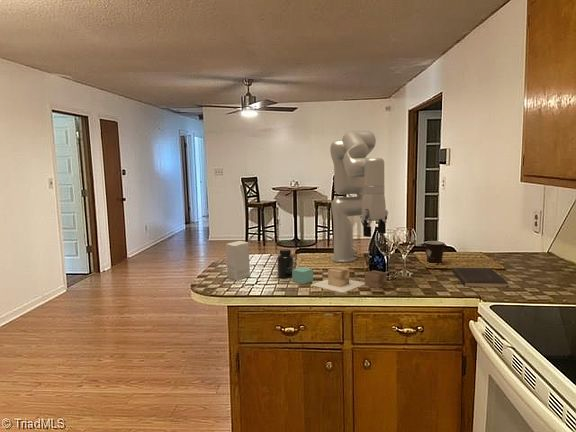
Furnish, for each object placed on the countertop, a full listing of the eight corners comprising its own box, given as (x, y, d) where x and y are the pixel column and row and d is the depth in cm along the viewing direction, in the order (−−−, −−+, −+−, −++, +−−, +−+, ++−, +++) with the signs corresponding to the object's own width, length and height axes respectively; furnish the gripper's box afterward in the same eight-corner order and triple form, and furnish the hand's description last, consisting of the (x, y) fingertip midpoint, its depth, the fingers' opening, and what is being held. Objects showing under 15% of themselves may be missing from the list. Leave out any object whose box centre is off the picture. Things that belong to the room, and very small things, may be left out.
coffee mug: (446, 265, 204) (447, 244, 202) (428, 265, 204) (428, 244, 202) (438, 259, 215) (438, 239, 214) (420, 259, 215) (421, 239, 214)
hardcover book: (490, 273, 190) (490, 268, 190) (508, 288, 167) (508, 282, 167) (452, 272, 193) (452, 267, 192) (464, 287, 170) (464, 282, 170)
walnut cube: (373, 284, 176) (373, 270, 175) (386, 287, 172) (386, 272, 171) (364, 288, 172) (364, 273, 171) (377, 291, 167) (377, 275, 167)
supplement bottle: (291, 279, 187) (291, 251, 186) (276, 278, 189) (275, 251, 187) (294, 274, 194) (294, 248, 192) (279, 274, 195) (279, 248, 194)
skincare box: (241, 274, 197) (240, 240, 195) (251, 276, 193) (249, 242, 191) (226, 278, 191) (225, 243, 189) (236, 280, 187) (234, 245, 185)
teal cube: (302, 280, 184) (302, 267, 183) (313, 283, 180) (312, 269, 179) (292, 284, 180) (292, 269, 179) (303, 286, 176) (302, 272, 175)
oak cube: (337, 281, 178) (337, 266, 178) (349, 283, 174) (349, 269, 174) (328, 284, 174) (327, 269, 174) (340, 287, 170) (339, 272, 169)
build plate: (335, 278, 186) (335, 276, 185) (367, 285, 174) (367, 283, 174) (310, 287, 174) (310, 284, 174) (342, 295, 163) (342, 292, 163)
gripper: (378, 189, 176) (379, 231, 178) (352, 191, 164) (353, 237, 166) (395, 189, 171) (395, 232, 173) (369, 192, 159) (369, 239, 161)
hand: (374, 234), depth 169 cm, fingers open, 9 cm apart
